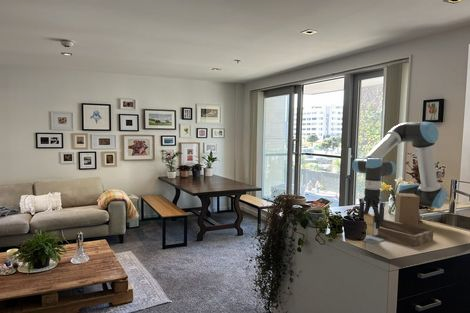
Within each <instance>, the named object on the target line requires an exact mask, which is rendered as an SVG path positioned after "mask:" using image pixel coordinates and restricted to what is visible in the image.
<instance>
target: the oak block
mask: <svg viewBox="0 0 470 313" xmlns="http://www.w3.org/2000/svg"><path fill="white" fill-rule="evenodd" d="M364 221H365V222H366V224H367V229H366V234H365V235H370V236H373V237H375V236H374V235H373V231H374V222H375V216H374V213H371V212H368V214H364Z"/></svg>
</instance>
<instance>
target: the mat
mask: <svg viewBox="0 0 470 313" xmlns="http://www.w3.org/2000/svg"><path fill="white" fill-rule="evenodd" d="M366 235H367V234H366ZM362 242H366V243H369V244H371V245H375V244H378V243H381V242H385V238H381V237H378V236H370V235H367V236H366V239H364V240H363V241H362Z"/></svg>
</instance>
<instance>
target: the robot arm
mask: <svg viewBox="0 0 470 313" xmlns="http://www.w3.org/2000/svg"><path fill="white" fill-rule="evenodd" d="M439 136H440V135H439V128H438V126H437V125H436V124H435V123H434V122H433V121H432V122H431V121H405V122H402V123H399V124H397V125H394V126H393V127H391V129H389V130H388V131H387V132H386V133H385V135H384V137H383V138H382V139H381V140H380V141H379V142H378V143H377V144H376V145H374V146H373V148H371V149H370V151H368V152H367V153H366V154H365V155H364V156H363V157H362V158H356V159H354V160H353V162H352V163H351V164H352V166H351V167H352V170H353V171H354V172H355V173H359V174H365V180H364V197H362V198H359V199H358V201H359V212H358V217H359V218H360V219H364V214H368V213H370V212H369V211H370V208H371V209H372V210H373V214H374V216H375V222H374V231H373V235H378V229H379V227H380V222H383V221H384V219H385V206H386V202H384V201H382V200H381V188H382V187H381V186H382V177H390V176H393V175H394V174H396V172H397V165H396V164H395V162H393V161H389V160H386V161H383V158H384V157H385V156H386V155H387V154H388V153H389V152H390V151H392V150H393V149H394V147H395V146H399V145H400V144H401V143H405V142H407V143H409V142H410V143H411V146H412V147H413V148H414V149H415V153H416V159H417V165H418V172H419V179H420V183H402V184H399V187H398V193H406V194H415V195H417V196H419V197H420V200H419V206H422V207H427V208H432V209H441V208H442V207H443V206H444V205H445V203H446V200H447V191H446V190H445V189H442V185H441V184H440V183H438V178H437V170H436V169H437V168H436V163H435V162H436V161H435V157H434V156H435V155H434V147H433V146H435V145H436V142H438V140H439ZM420 222H422V216H421V212H420V211H419V217H418V223H420Z"/></svg>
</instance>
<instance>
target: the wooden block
mask: <svg viewBox="0 0 470 313" xmlns="http://www.w3.org/2000/svg"><path fill="white" fill-rule="evenodd" d="M419 200H420V197H419V196H417V195H415V194H406V193H399V192H397V193H396V194H395V205H394V206H395V207H394V222H398V223H402V224H407V225H411V226H415V227H419V222H418V217H419V212H420V205H419Z"/></svg>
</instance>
